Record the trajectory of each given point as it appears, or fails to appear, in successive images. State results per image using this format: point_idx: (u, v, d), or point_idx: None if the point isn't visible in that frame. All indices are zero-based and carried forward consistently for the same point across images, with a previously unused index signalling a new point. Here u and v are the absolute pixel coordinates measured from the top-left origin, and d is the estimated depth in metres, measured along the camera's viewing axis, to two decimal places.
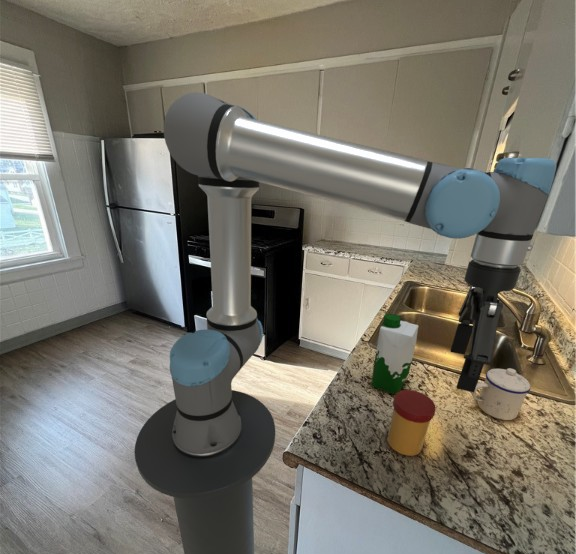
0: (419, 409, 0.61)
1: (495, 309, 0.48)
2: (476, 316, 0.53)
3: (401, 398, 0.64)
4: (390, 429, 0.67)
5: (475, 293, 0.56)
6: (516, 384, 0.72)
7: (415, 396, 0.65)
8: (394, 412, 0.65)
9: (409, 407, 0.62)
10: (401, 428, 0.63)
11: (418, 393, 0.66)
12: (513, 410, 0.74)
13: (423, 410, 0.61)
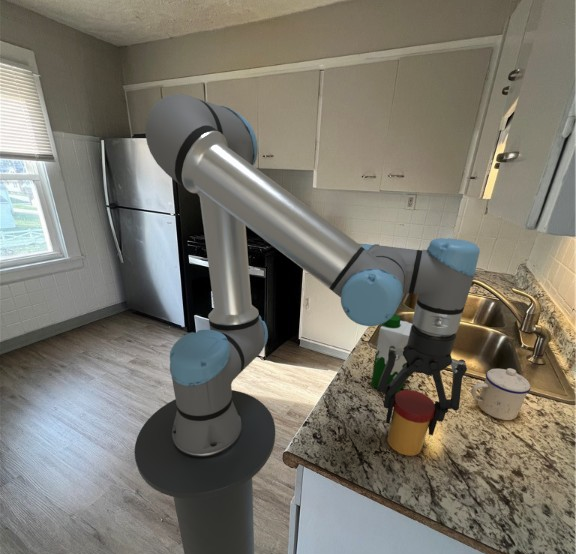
0: (419, 409, 0.61)
1: None
2: (406, 364, 0.62)
3: (401, 398, 0.64)
4: (390, 429, 0.67)
5: None
6: (516, 384, 0.72)
7: (415, 396, 0.65)
8: (394, 412, 0.65)
9: (409, 407, 0.62)
10: (401, 428, 0.63)
11: (418, 393, 0.66)
12: (513, 410, 0.74)
13: (423, 410, 0.61)
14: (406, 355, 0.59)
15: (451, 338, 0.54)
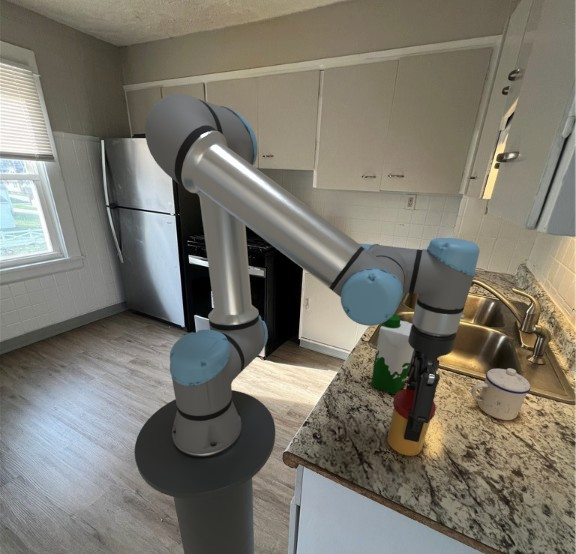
0: None
1: (433, 381, 0.53)
2: (418, 378, 0.57)
3: None
4: (390, 429, 0.67)
5: (419, 351, 0.60)
6: (516, 384, 0.72)
7: (404, 399, 0.64)
8: (394, 412, 0.65)
9: None
10: (401, 428, 0.63)
11: (398, 396, 0.65)
12: (513, 410, 0.74)
13: None
14: (435, 367, 0.55)
15: None
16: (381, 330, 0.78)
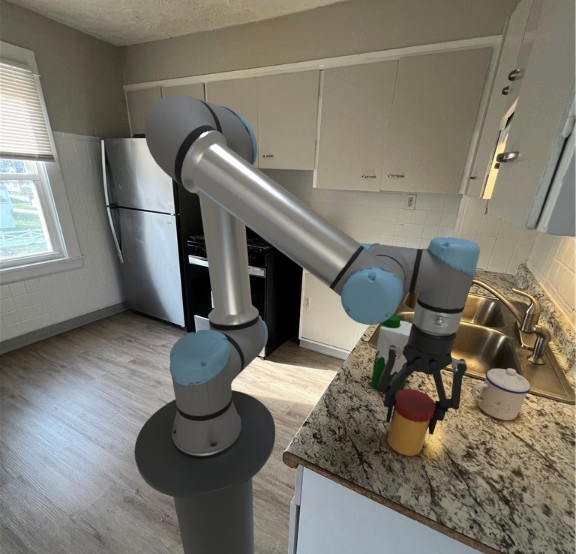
0: (410, 394, 0.65)
1: (388, 353, 0.61)
2: (406, 363, 0.62)
3: (428, 404, 0.62)
4: (390, 429, 0.67)
5: None
6: (516, 384, 0.72)
7: (414, 407, 0.62)
8: (394, 412, 0.65)
9: (420, 396, 0.65)
10: (401, 428, 0.63)
11: (410, 410, 0.61)
12: (513, 410, 0.74)
13: (406, 393, 0.65)
14: (406, 354, 0.59)
15: (451, 337, 0.54)
16: (381, 330, 0.78)
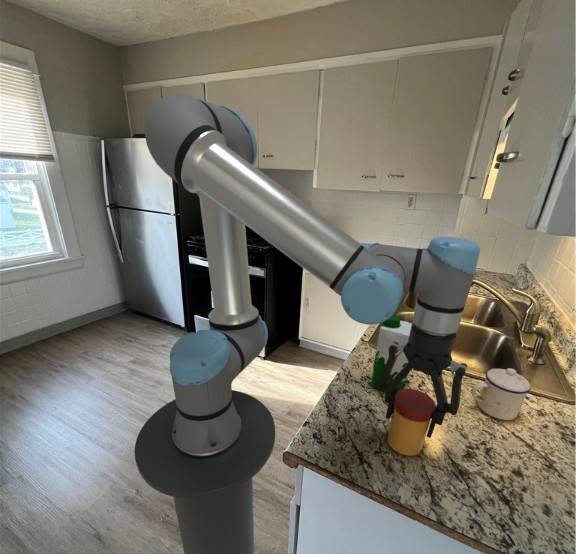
0: (416, 407, 0.61)
1: None
2: (438, 378, 0.57)
3: (402, 395, 0.65)
4: (390, 429, 0.67)
5: (419, 356, 0.58)
6: (516, 384, 0.72)
7: (418, 396, 0.64)
8: (394, 412, 0.65)
9: (406, 404, 0.62)
10: (401, 428, 0.63)
11: (423, 394, 0.65)
12: (513, 410, 0.74)
13: (420, 409, 0.61)
14: None
15: None
16: (381, 330, 0.78)
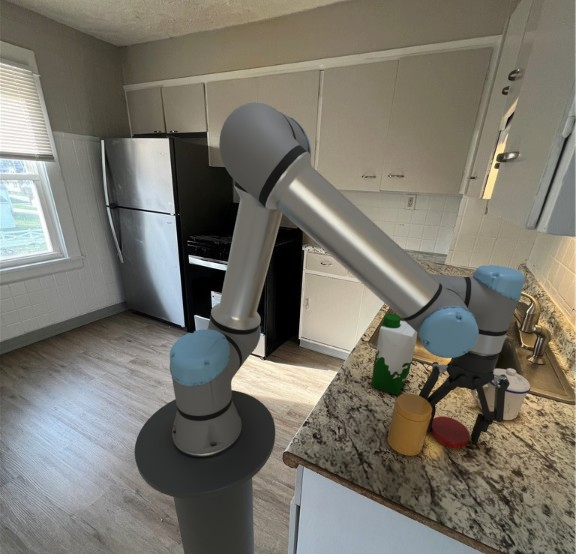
0: (455, 436, 0.68)
1: None
2: None
3: (437, 425, 0.70)
4: (390, 429, 0.67)
5: (465, 374, 0.62)
6: (516, 384, 0.72)
7: (449, 423, 0.71)
8: (394, 412, 0.65)
9: (445, 434, 0.68)
10: (401, 428, 0.63)
11: (452, 420, 0.72)
12: (513, 410, 0.74)
13: (459, 437, 0.67)
14: None
15: None
16: (381, 330, 0.78)
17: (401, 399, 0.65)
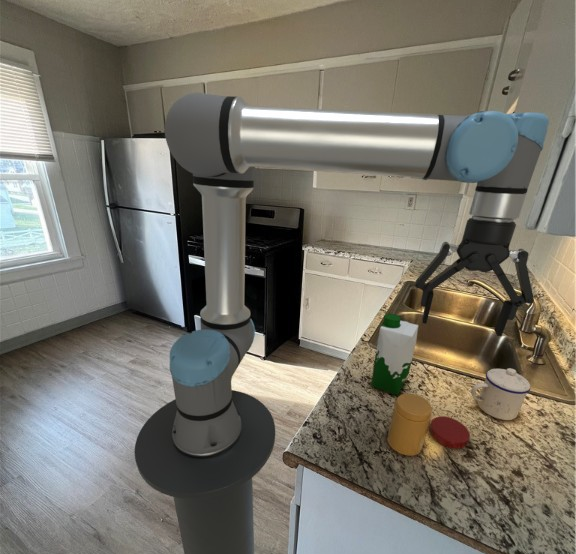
0: (455, 436, 0.68)
1: None
2: (502, 270, 0.56)
3: (437, 425, 0.70)
4: (390, 429, 0.67)
5: (478, 253, 0.57)
6: (516, 384, 0.72)
7: (449, 423, 0.71)
8: (394, 412, 0.65)
9: (445, 434, 0.68)
10: (401, 428, 0.63)
11: (452, 420, 0.72)
12: (513, 410, 0.74)
13: (459, 437, 0.67)
14: None
15: None
16: (381, 330, 0.78)
17: (401, 399, 0.65)
